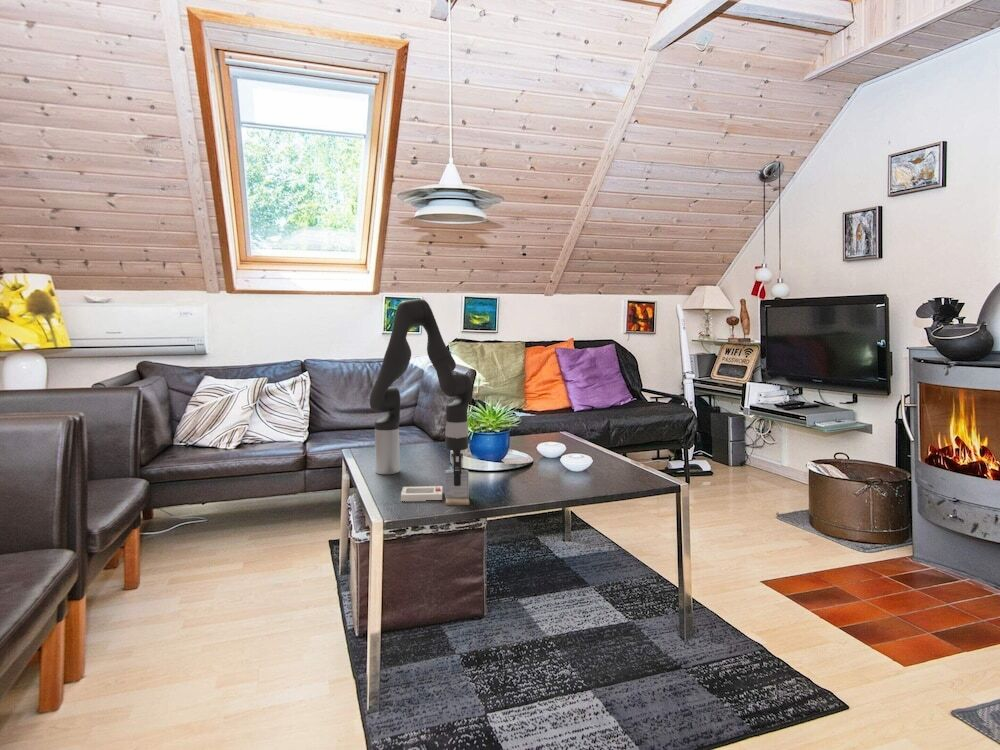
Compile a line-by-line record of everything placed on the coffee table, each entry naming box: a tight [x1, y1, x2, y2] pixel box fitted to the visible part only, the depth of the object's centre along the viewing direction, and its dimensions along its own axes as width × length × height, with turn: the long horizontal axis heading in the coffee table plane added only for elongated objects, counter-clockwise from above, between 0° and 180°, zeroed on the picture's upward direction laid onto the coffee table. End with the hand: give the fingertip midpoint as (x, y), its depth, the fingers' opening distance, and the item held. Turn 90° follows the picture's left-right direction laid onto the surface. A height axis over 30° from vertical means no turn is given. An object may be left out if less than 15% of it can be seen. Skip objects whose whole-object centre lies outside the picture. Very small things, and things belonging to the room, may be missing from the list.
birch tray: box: [445, 496, 470, 506], centre depth 216 cm, size 14×8×1 cm, turn 5°
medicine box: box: [444, 469, 470, 499], centre depth 216 cm, size 8×4×9 cm, turn 94°
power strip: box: [400, 483, 443, 502], centre depth 223 cm, size 18×14×3 cm
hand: (457, 482), depth 216 cm, fingers open, 8 cm apart
